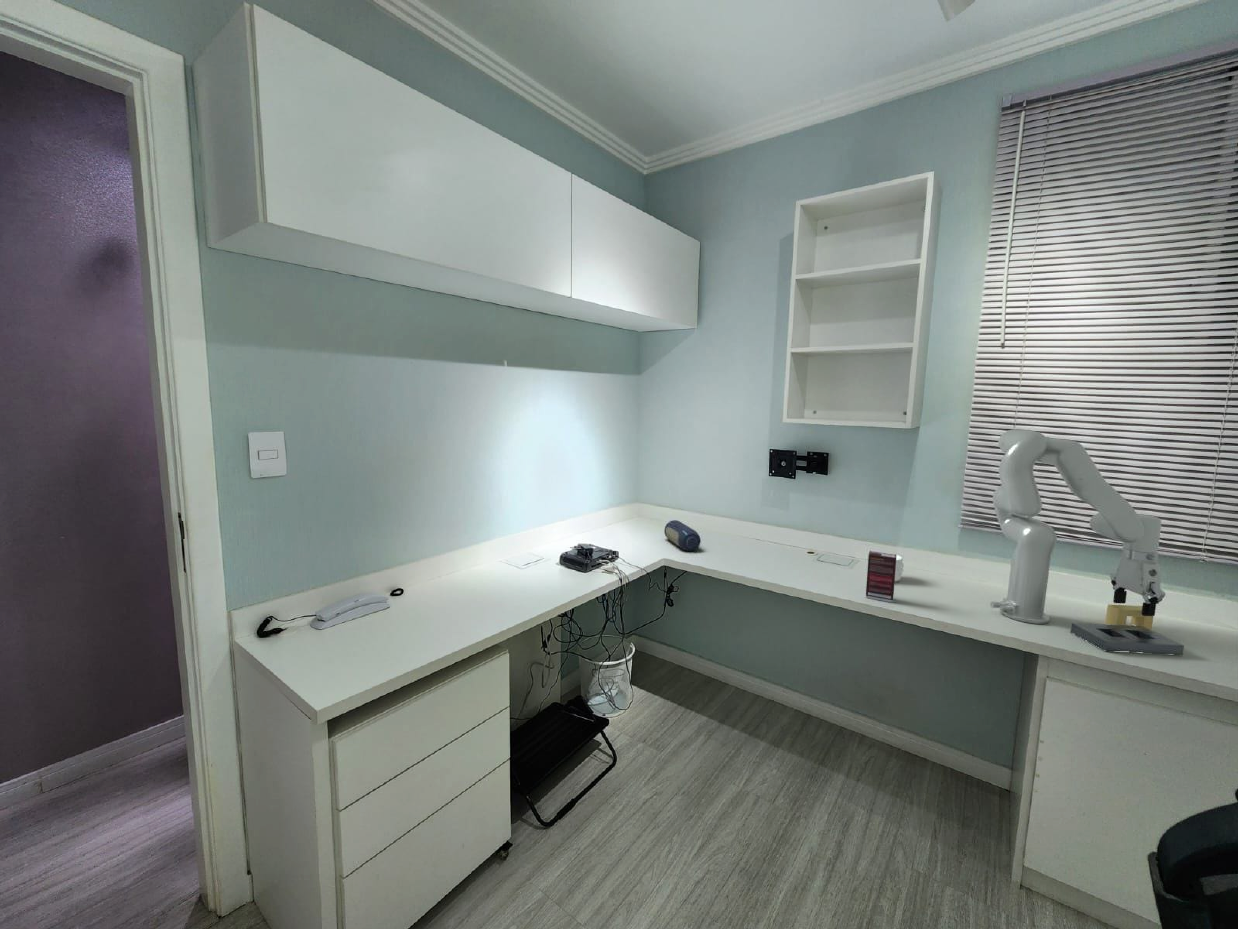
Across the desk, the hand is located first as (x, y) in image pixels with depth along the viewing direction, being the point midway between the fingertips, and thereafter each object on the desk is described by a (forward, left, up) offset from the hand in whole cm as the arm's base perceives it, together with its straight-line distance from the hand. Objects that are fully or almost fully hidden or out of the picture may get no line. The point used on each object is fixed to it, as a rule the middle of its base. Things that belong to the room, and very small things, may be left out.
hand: (1133, 609), depth 159 cm
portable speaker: (-136, +70, -6) cm, 153 cm away
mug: (-59, +34, -6) cm, 68 cm away
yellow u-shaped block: (-1, 0, -6) cm, 6 cm away
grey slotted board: (-13, -13, -6) cm, 19 cm away
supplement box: (-70, +14, -6) cm, 71 cm away
